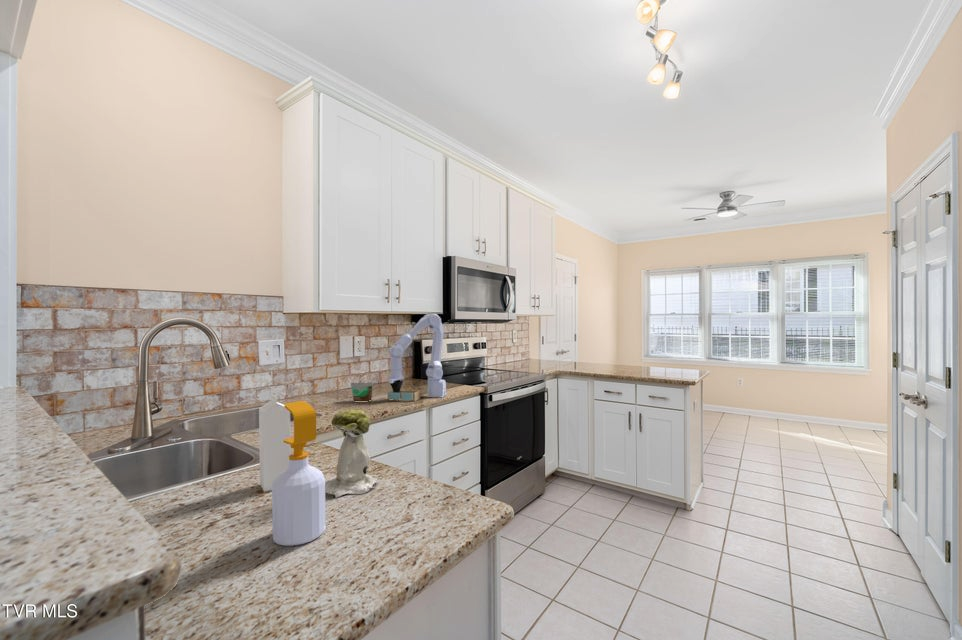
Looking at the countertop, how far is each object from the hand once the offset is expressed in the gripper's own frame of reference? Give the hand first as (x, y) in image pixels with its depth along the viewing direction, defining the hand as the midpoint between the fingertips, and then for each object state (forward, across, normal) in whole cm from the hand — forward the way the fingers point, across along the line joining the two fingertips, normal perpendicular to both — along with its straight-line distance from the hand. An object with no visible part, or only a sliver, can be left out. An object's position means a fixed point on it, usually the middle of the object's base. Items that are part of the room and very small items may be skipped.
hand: (396, 395), depth 210 cm
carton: (+2, -2, +3) cm, 4 cm away
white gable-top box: (+3, +108, +15) cm, 109 cm away
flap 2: (+2, +2, +7) cm, 7 cm away
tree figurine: (+3, +106, +34) cm, 112 cm away
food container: (+3, +6, -17) cm, 18 cm away
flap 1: (+1, +2, 0) cm, 3 cm away
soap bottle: (+3, +128, +36) cm, 133 cm away
